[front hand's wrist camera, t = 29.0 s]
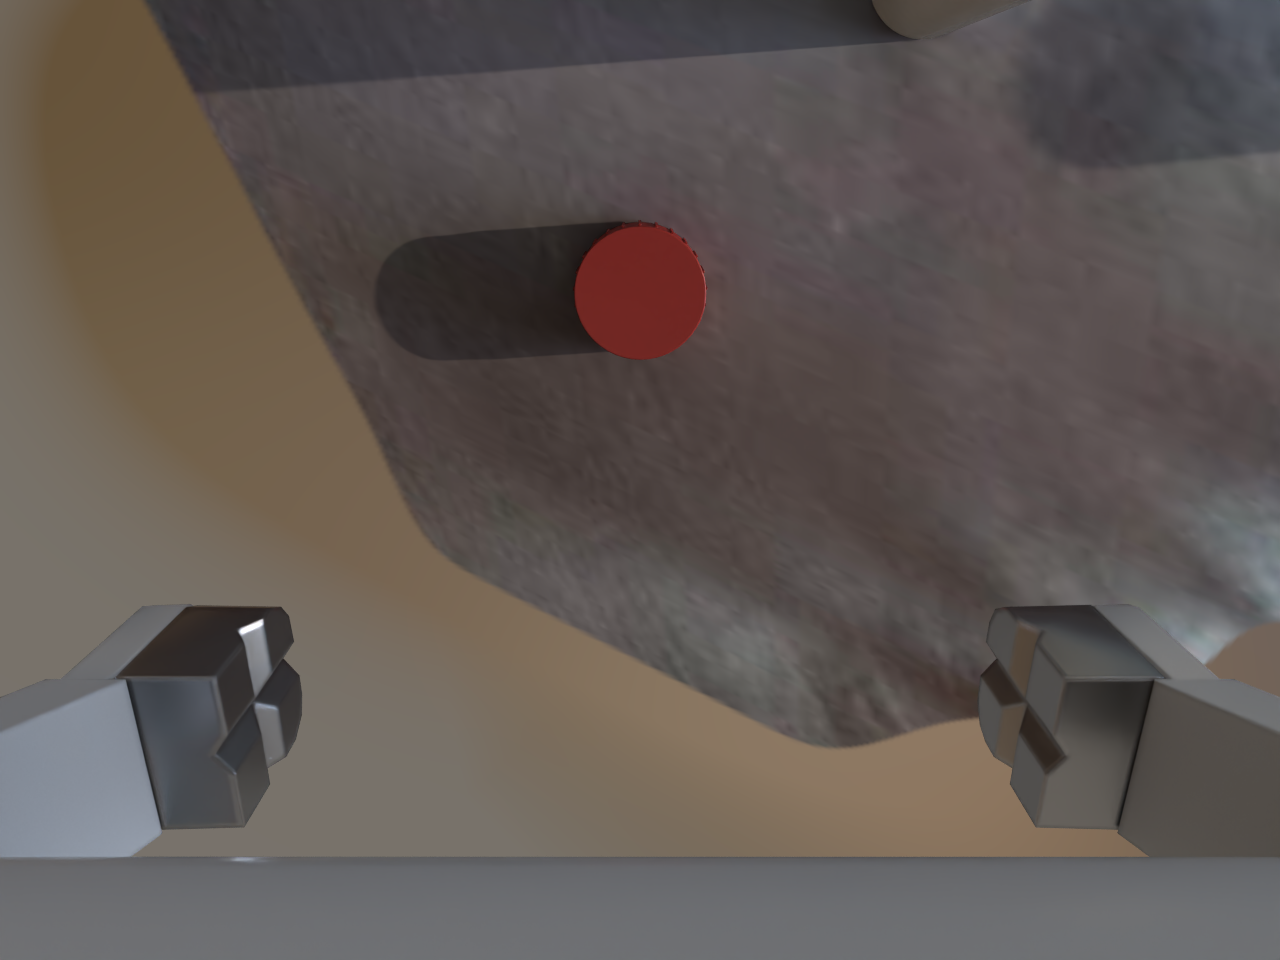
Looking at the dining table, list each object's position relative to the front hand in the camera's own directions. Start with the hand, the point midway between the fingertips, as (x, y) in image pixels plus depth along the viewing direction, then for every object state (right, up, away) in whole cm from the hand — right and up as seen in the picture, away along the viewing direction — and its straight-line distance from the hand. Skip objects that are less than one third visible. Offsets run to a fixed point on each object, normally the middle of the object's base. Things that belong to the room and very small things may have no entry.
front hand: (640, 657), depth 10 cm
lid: (0, +10, +27) cm, 28 cm away
